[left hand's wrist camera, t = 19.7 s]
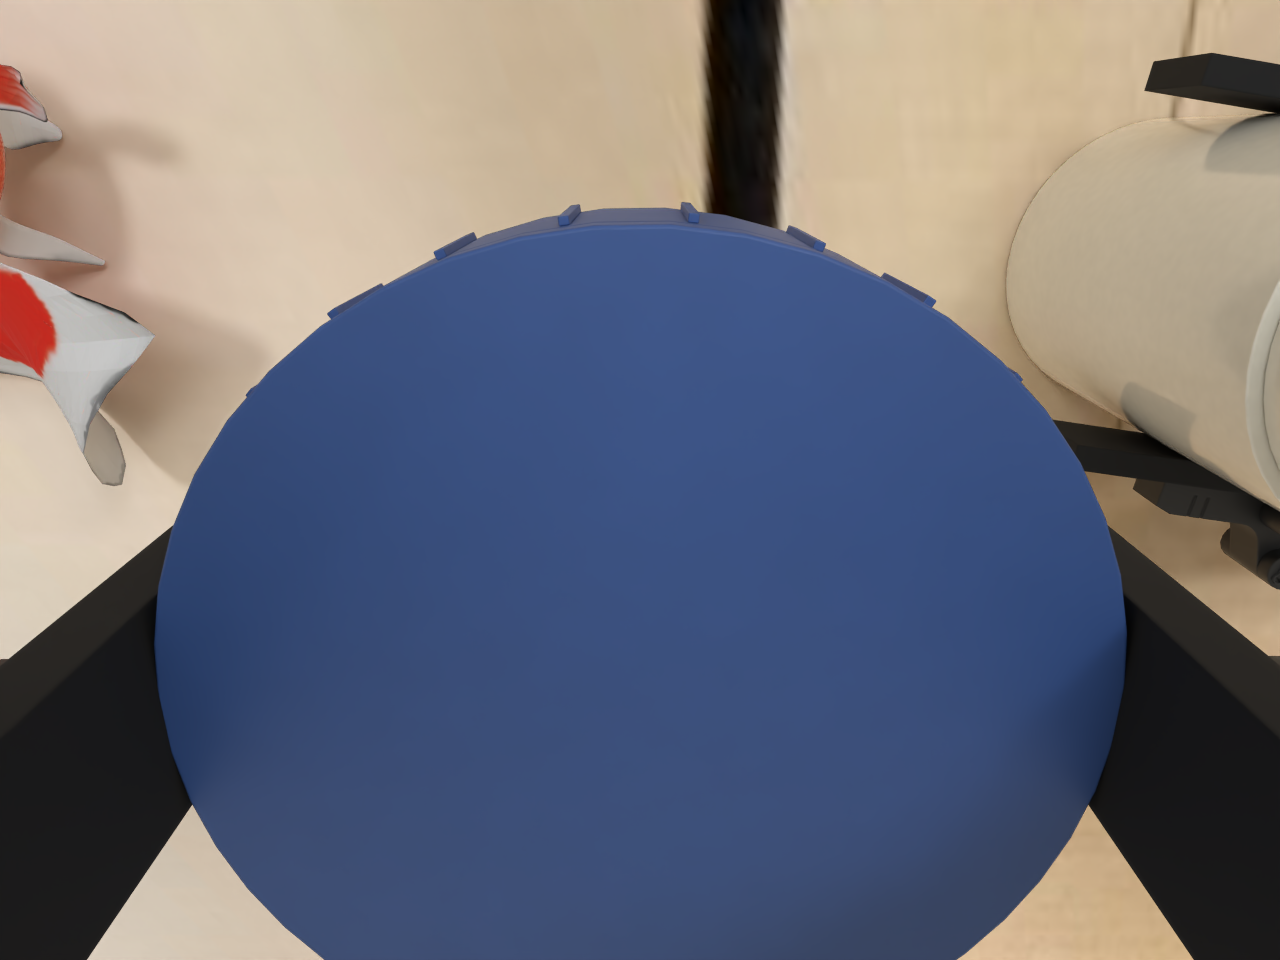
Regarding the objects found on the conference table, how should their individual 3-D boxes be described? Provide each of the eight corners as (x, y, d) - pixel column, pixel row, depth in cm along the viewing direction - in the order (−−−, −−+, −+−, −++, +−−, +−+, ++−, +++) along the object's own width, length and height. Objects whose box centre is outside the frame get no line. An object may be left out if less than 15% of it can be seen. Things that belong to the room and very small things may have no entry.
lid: (63, 522, 12) (-71, 609, 10) (770, -9, 10) (809, -55, 7) (555, 1017, 15) (539, 1171, 13) (1172, 701, 13) (1285, 820, 10)
